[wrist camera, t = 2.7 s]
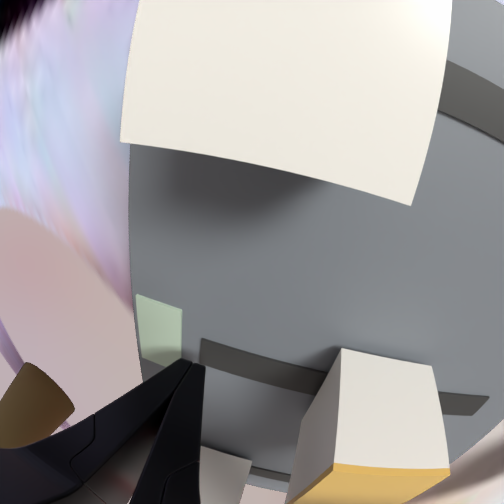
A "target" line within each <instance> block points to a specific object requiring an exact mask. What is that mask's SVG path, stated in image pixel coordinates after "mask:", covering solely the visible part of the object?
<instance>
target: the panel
mask: <svg viewBox="0 0 504 504" xmlns="http://www.w3.org/2000/svg"><path fill="white" fill-rule="evenodd" d="M129 251H130V271H131V286H132V299H133V310H134V320H135V329H136V337H137V344H138V352H139V359H140V366H141V373H142V379H143V382H144V381H146V380H148V379H149V378H151V377H152V376H154V375H155V374H157V373H158V372H160V371H161V370H163V369H164V368H166V367H167V366H169V365H170V364H172V363H173V362H175V361H176V360H178V359H179V358H184V359H187V360H190V361H192V362H193V363H198V364H201V365H204V366H206V374H205V387H204V401H203V416H202V433H201V446H204V447H207V448H210V449H213V450H216V451H219V452H222V453H225V454H229V455H232V456H236V457H239V458H243V459H247V460H250V461H252V464H251V468H250V471H249V474H248V477H247V481H246V484H249V485H253V486H257V487H261V488H266V489H270V490H275V491H280V492H286V493H287V491H288V487H289V482H290V478H291V473H292V468H293V463H294V458H295V453H296V448H297V443H298V438H299V432H300V427H301V421H302V419H303V417H304V416H305V414H306V412H307V410H308V409H309V407H310V405H311V404H312V402H313V400H314V398H315V397H316V395H317V393H318V391H319V390H320V388H321V386H322V384H323V382H324V380H325V379H326V377H327V375H328V373H329V371H330V369H331V367H332V366H333V364H334V362H335V360H336V358H337V356H338V354H339V352H340V350H341V348H344V349H348V350H353V351H357V352H362V353H366V354H371V355H376V356H381V357H386V358H391V359H396V360H401V361H407V362H412V363H418V364H423V365H429V366H432V369H433V374H434V378H435V382H436V387H437V391H438V396H439V401H440V406H441V411H442V417H443V423H444V429H445V435H446V442H447V449H448V457H449V464H451V463H452V462H453V461H455V460H456V459H457V458H459V457H460V456H461V455H463V454H464V453H465V452H466V451H468V450H469V449H470V448H471V447H473V446H474V445H475V444H476V443H477V442H478V441H480V440H481V439H482V438H483V437H484V436H485V435H487V434H488V433H489V432H490V431H491V430H492V429H493V428H494V427H495V426H496V425H497V424H498V423H500V422H501V421H502V420H503V419H504V5H502V4H501V3H499V2H497V1H496V0H452V11H451V24H450V34H449V43H448V51H447V59H446V65H445V72H444V78H443V84H442V89H441V94H440V99H439V104H438V109H437V114H436V118H435V123H434V127H433V131H432V135H431V139H430V143H429V147H428V151H427V154H426V158H425V162H424V165H423V169H422V172H421V175H420V179H419V182H418V185H417V189H416V192H415V195H414V198H413V201H412V204H411V206H409V205H406V204H403V203H400V202H396V201H393V200H390V199H387V198H384V197H380V196H377V195H374V194H370V193H367V192H364V191H360V190H357V189H353V188H350V187H346V186H343V185H339V184H335V183H332V182H328V181H324V180H320V179H316V178H312V177H308V176H304V175H300V174H296V173H292V172H288V171H284V170H279V169H275V168H270V167H266V166H261V165H257V164H252V163H247V162H242V161H237V160H232V159H227V158H222V157H216V156H211V155H205V154H199V153H193V152H187V151H181V150H175V149H168V148H161V147H154V146H147V145H139V144H130V164H129Z"/></svg>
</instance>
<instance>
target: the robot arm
mask: <svg viewBox="0 0 504 504" xmlns="http://www.w3.org/2000/svg"><path fill="white" fill-rule="evenodd" d="M205 374H206V366H204V365H201V364H198V363H193V362H192V361H190V360H187V359H184V358H179V359H178V360H176V361H175V362H173V363H172V364H170V365H169V366H167V367H166V368H164V369H163V370H161V371H160V372H158V373H157V374H155V375H154V376H152V377H151V378H149V379H148V380H146V381H144V382H143V383H141V384H140V385H138V386H137V387H135V388H134V389H132V390H131V391H129V392H127V393H126V394H124V395H123V396H121V397H120V398H118V399H117V400H115V401H113V402H112V403H110V404H109V405H107V406H105V407H104V408H102V409H100V410H99V411H97V412H96V413H95V415H94V414H92V415H90V416H89V417H87V418H86V419H84V420H82V421H80V422H79V423H77V424H75V425H73V426H71V427H69V428H67V429H65V430H63V431H61V432H58V433H56V434H54V435H51V436H49V437H47V438H44V439H42V440H39V441H37V442H34V443H32V444H29V445H26V446H23V447H18V448H0V504H127V503H128V502H129V500H130V498H131V497H132V498H131V500H130V503H129V504H201V499H200V450H201V433H202V416H203V401H204V387H205Z"/></svg>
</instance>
